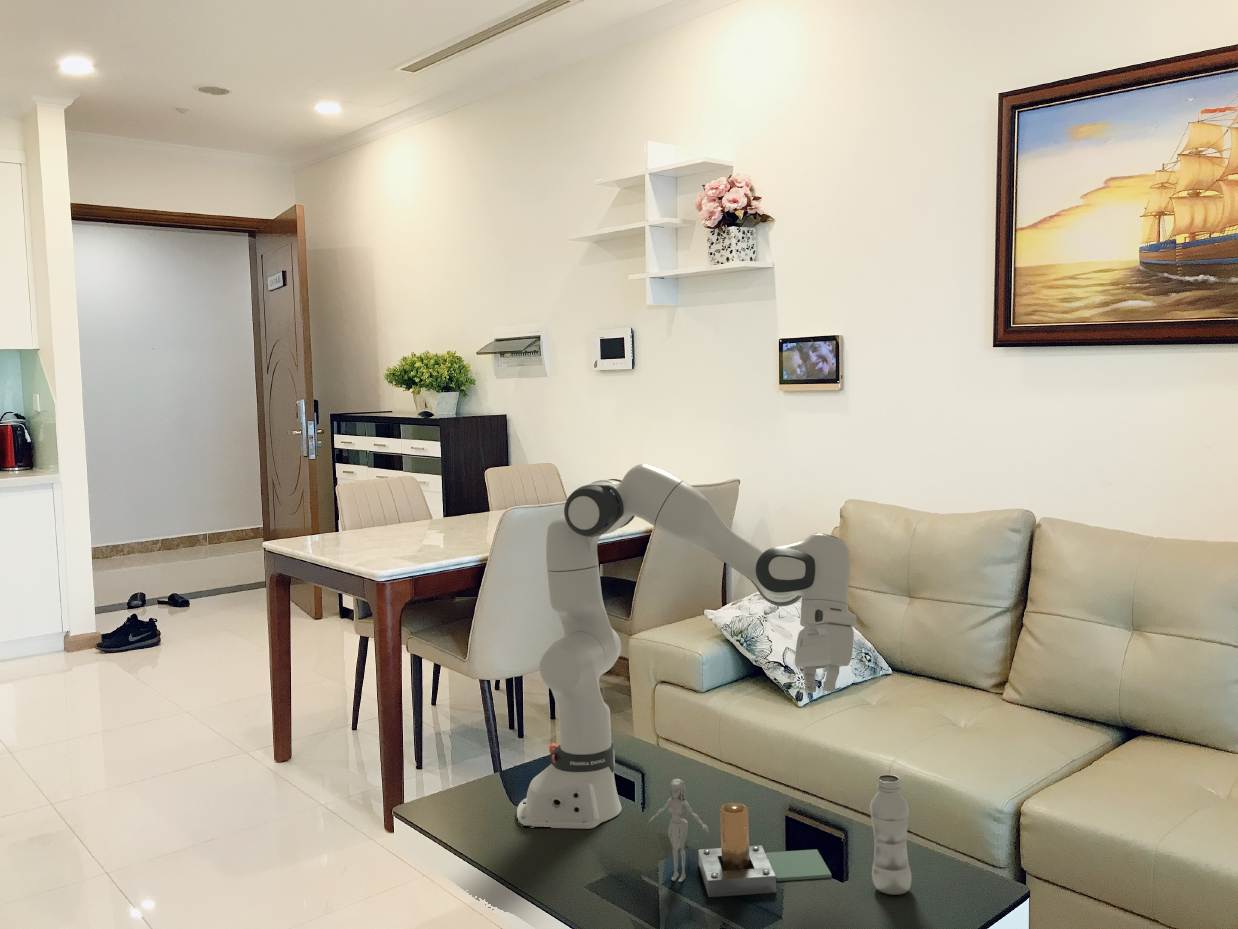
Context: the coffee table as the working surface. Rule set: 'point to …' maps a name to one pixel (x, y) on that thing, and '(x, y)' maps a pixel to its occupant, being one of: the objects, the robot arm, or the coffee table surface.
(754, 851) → the housing
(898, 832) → the plastic bottle
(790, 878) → the mat
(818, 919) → the coffee table surface
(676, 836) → the human figurine
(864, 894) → the coffee table surface
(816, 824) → the coffee table surface
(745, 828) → the copper plug
